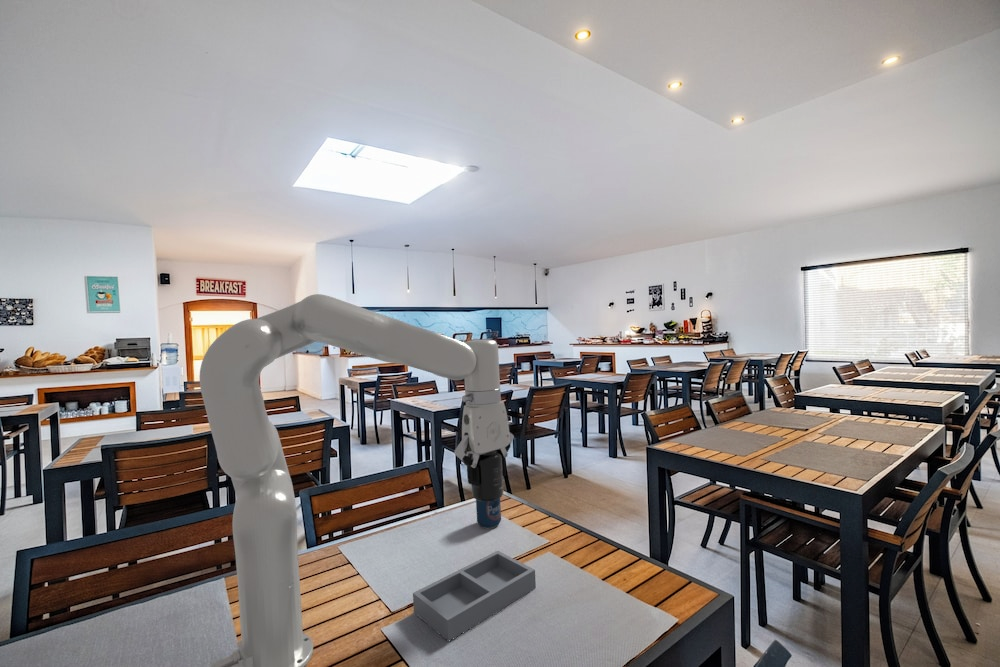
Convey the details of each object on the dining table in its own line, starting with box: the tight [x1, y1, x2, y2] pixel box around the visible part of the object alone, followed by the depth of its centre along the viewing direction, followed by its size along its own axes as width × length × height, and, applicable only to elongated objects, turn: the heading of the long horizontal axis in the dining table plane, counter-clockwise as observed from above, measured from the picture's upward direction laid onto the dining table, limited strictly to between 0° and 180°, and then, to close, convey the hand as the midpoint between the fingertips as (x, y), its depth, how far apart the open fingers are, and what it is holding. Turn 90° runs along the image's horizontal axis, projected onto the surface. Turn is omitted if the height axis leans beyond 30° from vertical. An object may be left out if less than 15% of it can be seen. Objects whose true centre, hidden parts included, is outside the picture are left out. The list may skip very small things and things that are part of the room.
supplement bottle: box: [471, 450, 504, 502], centre depth 98 cm, size 7×7×12 cm
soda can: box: [475, 498, 502, 529], centre depth 130 cm, size 7×7×12 cm
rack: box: [412, 550, 537, 642], centre depth 95 cm, size 23×12×4 cm, turn 132°
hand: (487, 478), depth 98 cm, fingers closed on supplement bottle, 6 cm apart
